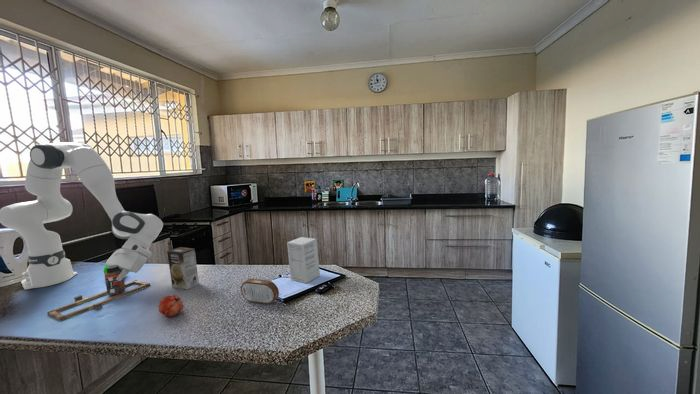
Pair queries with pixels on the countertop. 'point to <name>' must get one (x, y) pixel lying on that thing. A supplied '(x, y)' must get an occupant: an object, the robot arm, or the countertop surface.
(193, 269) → the coffee box
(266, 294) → the tin
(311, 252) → the supplement box
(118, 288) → the supplement bottle
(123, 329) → the countertop surface
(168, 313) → the red round fruit
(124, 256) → the robot arm
